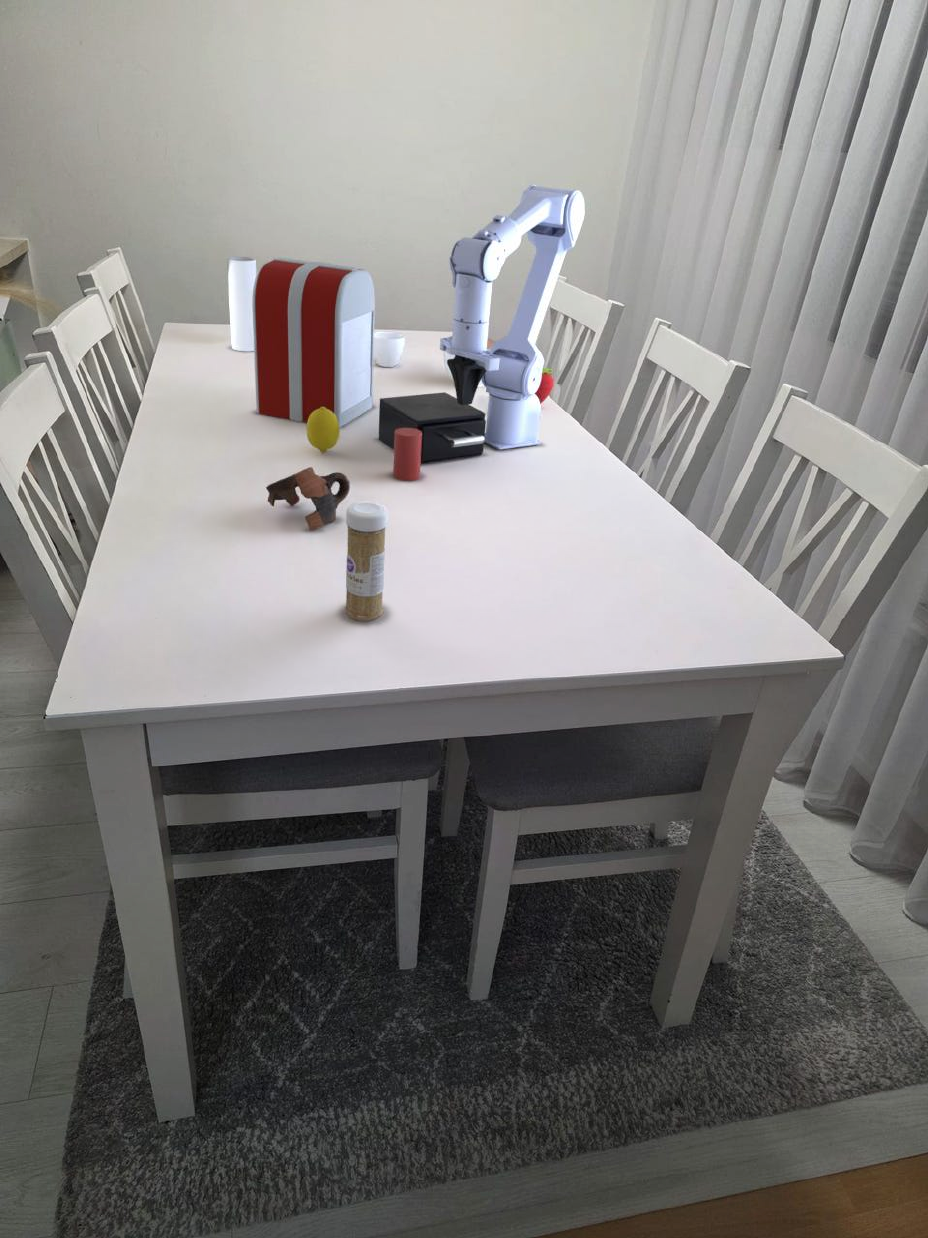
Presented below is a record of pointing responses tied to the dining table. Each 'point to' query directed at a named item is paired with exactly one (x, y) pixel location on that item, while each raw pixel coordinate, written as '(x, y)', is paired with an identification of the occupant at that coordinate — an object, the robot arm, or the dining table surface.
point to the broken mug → (312, 494)
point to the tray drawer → (452, 439)
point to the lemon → (323, 429)
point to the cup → (388, 348)
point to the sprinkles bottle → (365, 560)
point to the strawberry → (545, 385)
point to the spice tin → (407, 454)
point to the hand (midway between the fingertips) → (464, 403)
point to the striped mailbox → (313, 339)
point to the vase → (241, 301)
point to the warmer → (422, 415)
